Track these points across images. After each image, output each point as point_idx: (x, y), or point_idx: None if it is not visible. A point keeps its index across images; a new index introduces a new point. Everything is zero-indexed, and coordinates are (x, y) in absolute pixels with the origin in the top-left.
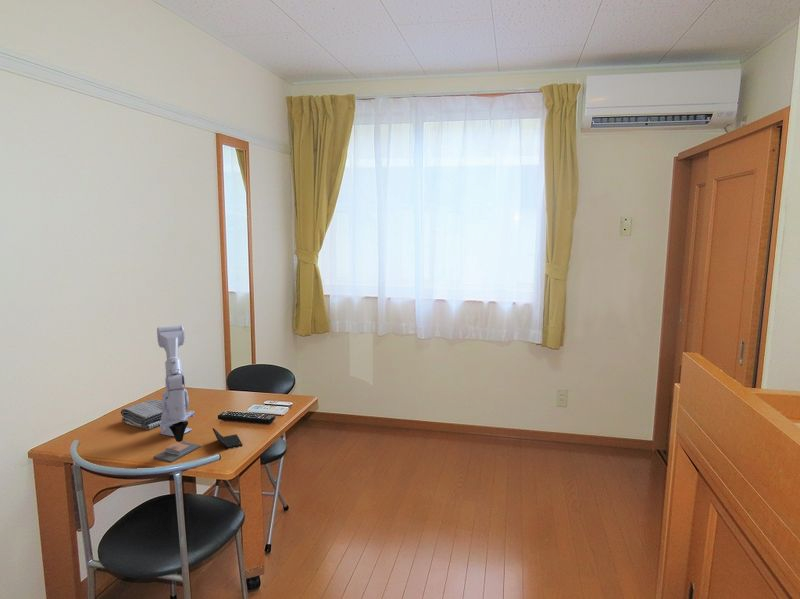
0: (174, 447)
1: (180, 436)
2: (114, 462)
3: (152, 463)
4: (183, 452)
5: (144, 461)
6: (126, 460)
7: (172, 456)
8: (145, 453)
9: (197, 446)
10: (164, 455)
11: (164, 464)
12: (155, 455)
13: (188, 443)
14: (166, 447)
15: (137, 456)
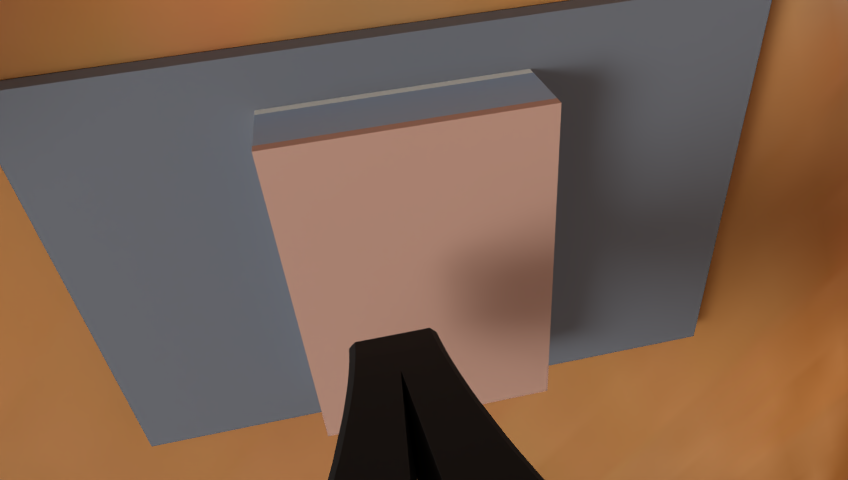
0: (479, 307)
1: (464, 422)
2: (841, 473)
3: (827, 198)
4: (440, 88)
5: (787, 316)
6: (791, 446)
7: (617, 132)
8: (611, 461)
9: (57, 116)
10: (626, 259)
11: (842, 17)
12: (661, 341)
13: (129, 347)
14: (533, 388)
15: (692, 454)
